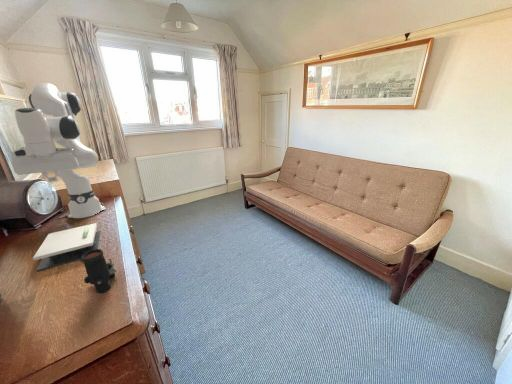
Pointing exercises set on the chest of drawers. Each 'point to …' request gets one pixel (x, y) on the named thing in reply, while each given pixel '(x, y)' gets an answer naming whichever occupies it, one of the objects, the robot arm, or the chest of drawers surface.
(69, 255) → the stage base
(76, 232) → the panel
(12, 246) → the chest of drawers surface
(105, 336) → the chest of drawers surface
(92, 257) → the scope
